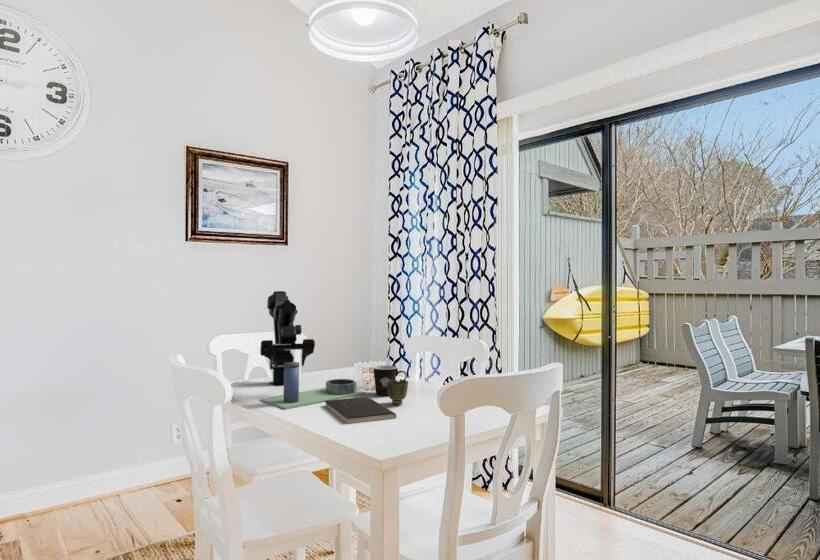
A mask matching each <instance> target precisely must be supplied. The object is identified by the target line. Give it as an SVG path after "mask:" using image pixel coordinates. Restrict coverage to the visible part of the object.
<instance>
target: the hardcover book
mask: <svg viewBox="0 0 820 560" xmlns="http://www.w3.org/2000/svg"><path fill="white" fill-rule="evenodd" d="M323 403H325V407H326V408H328V409H329V410H330V411H331V412H333V414H334V415H336V416H338V417H339V418H340V419H341V420H342V421H344V422H345V423H346V424H356V423H357V424H358V423H364V422H373V421H383V420H391V419H392V420H393V419H396V418H397V414H396V412H393V411H392V410H391V409H389V408H388V407H385V406H384V405H382V404H381V403H379V402H377V401H375V400H374V399H372V398H370V397H369V396H365V397H364V396H362V397H361V396H360V397H352V398H351V397H348V398H341V399H336V400H327V401H324V402H323Z"/></svg>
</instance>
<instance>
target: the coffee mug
mask: <svg viewBox="0 0 820 560" xmlns="http://www.w3.org/2000/svg"><path fill="white" fill-rule="evenodd" d="M397 368H398V367H397V366H394V365H387V364H385V365H376V366H373V376H374V377H373V378H374V387H375V395H376V396H377V397H383V398H385V397H389V396H388V391H387V380H388V381H389V380H390V381H391V379H393V380H395V379H396V378H397V376H398V374H400V373H403V374H404V375H405V377H404V379H405V380H407V378H408V377H407V376H408V375H407V372H406V371H404V370H398V371H397Z"/></svg>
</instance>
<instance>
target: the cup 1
mask: <svg viewBox="0 0 820 560" xmlns="http://www.w3.org/2000/svg"><path fill="white" fill-rule="evenodd" d="M355 381H356V380H355ZM355 381H354V379H349V378H337V379H328V380H326V381H325V388H326V392H327V393H329V394H334V395H346V394H352V393H355V392H356V390H357V383H358V382H357V381H356V382H355Z"/></svg>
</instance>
